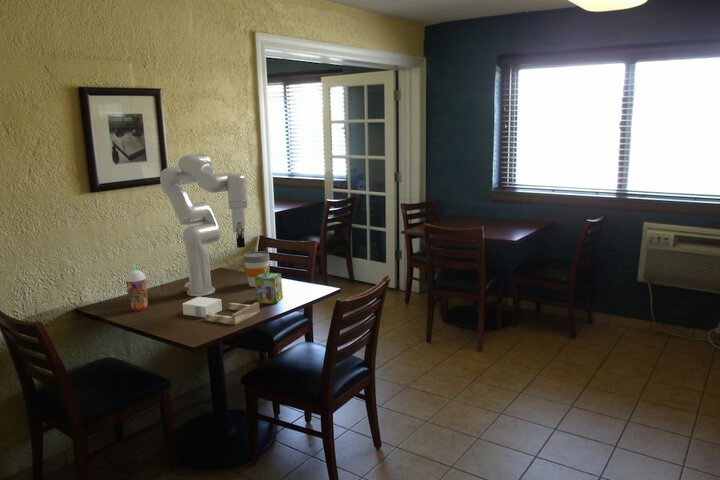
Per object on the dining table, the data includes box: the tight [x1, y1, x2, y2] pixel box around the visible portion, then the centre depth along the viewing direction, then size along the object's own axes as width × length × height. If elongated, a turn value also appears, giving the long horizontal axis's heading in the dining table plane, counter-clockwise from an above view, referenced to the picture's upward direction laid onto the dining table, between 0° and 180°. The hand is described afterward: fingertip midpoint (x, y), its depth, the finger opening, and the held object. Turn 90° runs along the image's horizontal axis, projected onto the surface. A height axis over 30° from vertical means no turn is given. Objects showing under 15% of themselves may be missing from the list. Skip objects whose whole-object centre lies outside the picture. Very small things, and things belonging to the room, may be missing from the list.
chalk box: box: [255, 267, 284, 305], centre depth 250 cm, size 9×9×15 cm
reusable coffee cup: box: [242, 250, 271, 288], centre depth 276 cm, size 13×13×15 cm
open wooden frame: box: [205, 301, 261, 325], centre depth 233 cm, size 14×16×4 cm
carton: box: [182, 296, 223, 319], centre depth 239 cm, size 12×10×5 cm
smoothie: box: [125, 263, 149, 312], centre depth 244 cm, size 8×8×20 cm
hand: (240, 244), depth 241 cm, fingers open, 9 cm apart
